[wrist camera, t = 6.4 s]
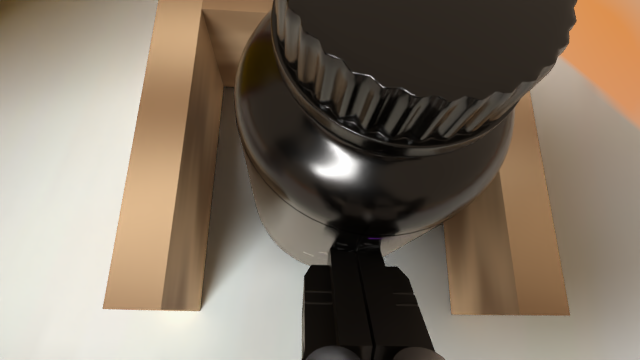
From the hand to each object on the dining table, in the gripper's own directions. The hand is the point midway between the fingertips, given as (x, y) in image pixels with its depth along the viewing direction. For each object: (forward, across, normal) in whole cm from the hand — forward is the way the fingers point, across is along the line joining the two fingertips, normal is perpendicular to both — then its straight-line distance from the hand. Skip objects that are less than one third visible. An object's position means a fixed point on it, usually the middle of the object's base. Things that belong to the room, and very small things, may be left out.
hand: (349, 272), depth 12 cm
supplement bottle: (+6, 0, 0) cm, 6 cm away
